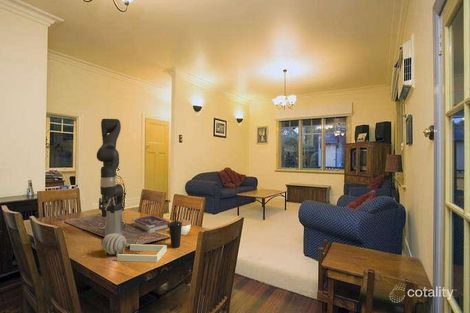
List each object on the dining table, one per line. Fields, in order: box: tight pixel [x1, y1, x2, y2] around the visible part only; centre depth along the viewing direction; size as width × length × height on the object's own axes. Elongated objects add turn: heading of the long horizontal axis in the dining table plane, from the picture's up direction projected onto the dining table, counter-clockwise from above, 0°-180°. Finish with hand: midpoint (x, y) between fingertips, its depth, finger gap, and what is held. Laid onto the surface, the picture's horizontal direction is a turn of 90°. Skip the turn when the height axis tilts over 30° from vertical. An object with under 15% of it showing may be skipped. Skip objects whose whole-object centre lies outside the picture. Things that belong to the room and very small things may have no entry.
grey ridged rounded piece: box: [100, 233, 130, 258], centre depth 134 cm, size 11×17×11 cm, turn 78°
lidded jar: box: [177, 218, 192, 236], centre depth 168 cm, size 11×11×9 cm
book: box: [131, 215, 171, 234], centre depth 183 cm, size 25×16×5 cm, turn 46°
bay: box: [116, 243, 168, 263], centre depth 133 cm, size 20×14×3 cm
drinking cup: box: [168, 211, 182, 249], centre depth 145 cm, size 8×8×20 cm
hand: (108, 214), depth 138 cm, fingers open, 8 cm apart
